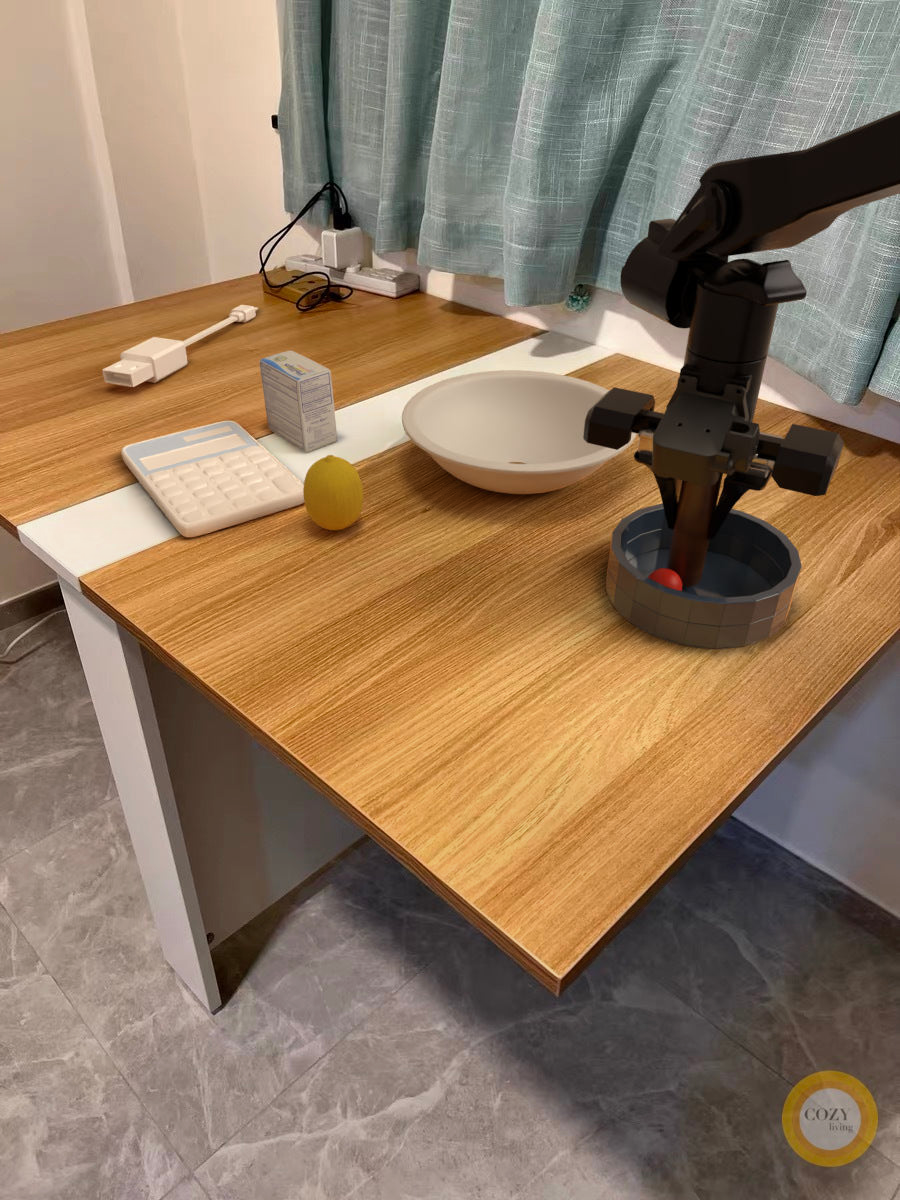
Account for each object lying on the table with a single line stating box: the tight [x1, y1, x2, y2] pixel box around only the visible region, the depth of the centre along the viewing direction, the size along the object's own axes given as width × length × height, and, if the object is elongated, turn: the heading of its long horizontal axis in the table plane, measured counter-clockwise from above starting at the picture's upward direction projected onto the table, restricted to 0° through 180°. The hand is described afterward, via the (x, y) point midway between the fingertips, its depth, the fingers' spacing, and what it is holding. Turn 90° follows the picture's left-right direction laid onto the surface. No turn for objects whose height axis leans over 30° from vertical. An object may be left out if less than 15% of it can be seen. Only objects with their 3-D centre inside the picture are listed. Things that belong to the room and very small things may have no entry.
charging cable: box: [101, 304, 259, 388], centre depth 122 cm, size 5×32×3 cm, turn 160°
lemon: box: [303, 454, 365, 532], centre depth 82 cm, size 6×6×8 cm
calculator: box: [121, 419, 305, 538], centre depth 92 cm, size 13×20×2 cm, turn 34°
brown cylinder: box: [667, 473, 724, 587], centre depth 73 cm, size 3×3×11 cm
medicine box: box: [259, 350, 338, 453], centre depth 98 cm, size 8×4×9 cm, turn 41°
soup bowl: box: [401, 369, 638, 495], centre depth 92 cm, size 24×24×7 cm
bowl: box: [605, 503, 803, 650], centre depth 75 cm, size 15×15×5 cm
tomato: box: [648, 568, 682, 591], centre depth 74 cm, size 3×3×3 cm
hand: (691, 532), depth 73 cm, fingers closed on brown cylinder, 3 cm apart
